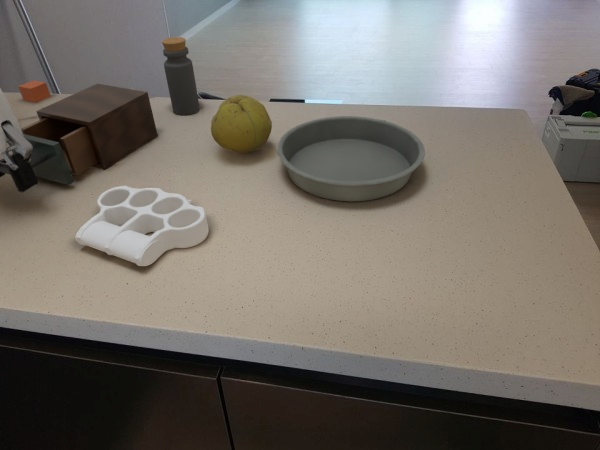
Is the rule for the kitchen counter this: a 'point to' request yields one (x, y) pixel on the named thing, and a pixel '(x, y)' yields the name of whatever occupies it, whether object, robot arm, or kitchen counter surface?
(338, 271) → the kitchen counter surface
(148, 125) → the cabinet
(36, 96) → the block
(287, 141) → the cake pan
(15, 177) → the robot arm
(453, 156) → the kitchen counter surface
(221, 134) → the fruit
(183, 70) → the bottle
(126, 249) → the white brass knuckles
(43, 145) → the drawer
